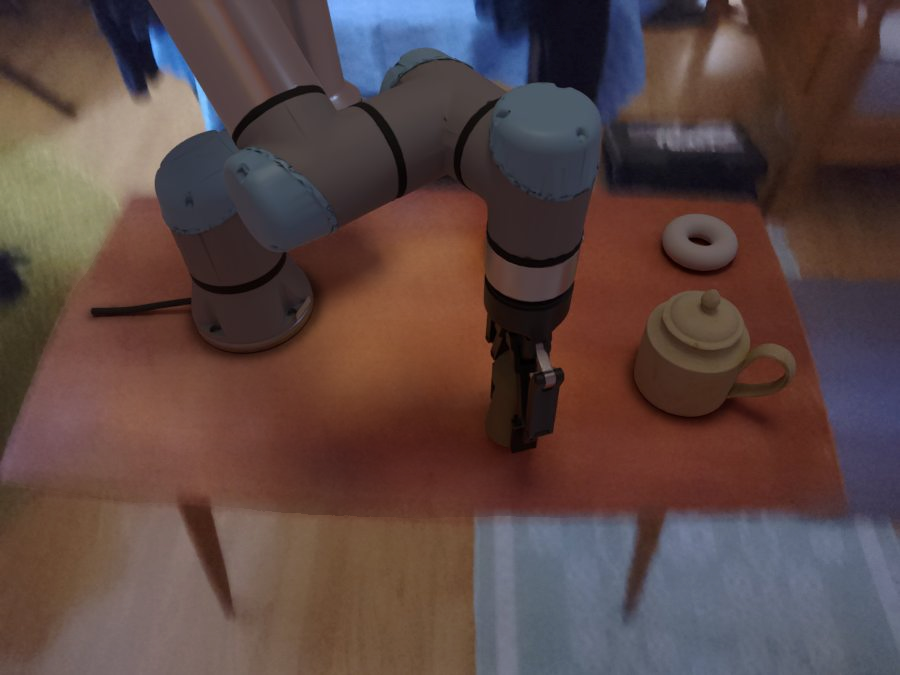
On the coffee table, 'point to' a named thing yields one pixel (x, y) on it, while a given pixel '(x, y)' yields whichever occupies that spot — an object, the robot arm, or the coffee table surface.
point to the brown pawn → (502, 401)
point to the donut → (698, 255)
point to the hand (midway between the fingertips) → (512, 421)
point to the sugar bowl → (701, 355)
